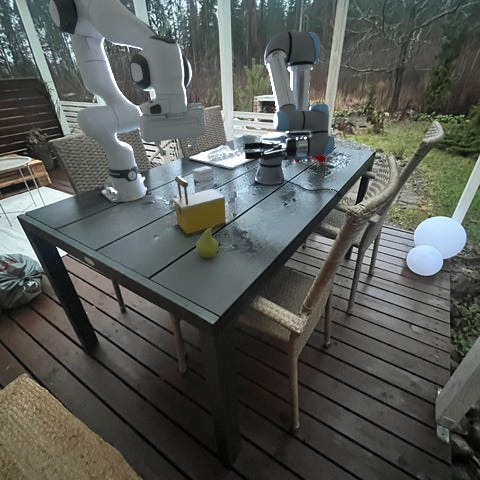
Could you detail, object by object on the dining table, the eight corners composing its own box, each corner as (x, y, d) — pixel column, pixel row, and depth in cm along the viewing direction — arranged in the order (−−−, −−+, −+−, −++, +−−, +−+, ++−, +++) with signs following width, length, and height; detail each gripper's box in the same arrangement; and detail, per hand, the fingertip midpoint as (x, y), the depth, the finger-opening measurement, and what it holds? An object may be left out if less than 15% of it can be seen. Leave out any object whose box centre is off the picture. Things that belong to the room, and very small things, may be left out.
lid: (182, 210, 91) (178, 184, 86) (172, 201, 98) (168, 176, 93) (224, 199, 99) (223, 174, 94) (213, 191, 105) (211, 167, 100)
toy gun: (330, 157, 167) (317, 136, 163) (329, 159, 164) (317, 138, 160) (304, 172, 177) (292, 153, 173) (303, 174, 174) (291, 155, 170)
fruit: (195, 252, 89) (191, 220, 82) (216, 247, 91) (214, 216, 85) (200, 264, 84) (196, 230, 77) (223, 258, 86) (221, 225, 79)
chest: (187, 236, 97) (184, 210, 92) (178, 226, 104) (174, 200, 98) (225, 224, 105) (224, 199, 99) (214, 215, 111) (213, 191, 105)
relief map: (231, 168, 161) (231, 160, 158) (189, 159, 179) (189, 151, 176) (257, 158, 179) (257, 150, 176) (217, 150, 197) (216, 142, 194)
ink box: (208, 188, 135) (206, 165, 129) (214, 191, 132) (213, 167, 126) (194, 193, 130) (191, 169, 124) (200, 196, 127) (198, 172, 121)
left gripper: (199, 101, 86) (202, 146, 93) (133, 106, 76) (143, 155, 84) (208, 103, 81) (211, 150, 89) (139, 108, 72) (149, 160, 79)
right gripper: (291, 131, 121) (244, 134, 122) (301, 146, 101) (244, 150, 102) (290, 148, 126) (245, 151, 127) (300, 166, 105) (245, 170, 106)
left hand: (177, 153), depth 86 cm, fingers open, 8 cm apart
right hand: (244, 150), depth 114 cm, fingers open, 13 cm apart
